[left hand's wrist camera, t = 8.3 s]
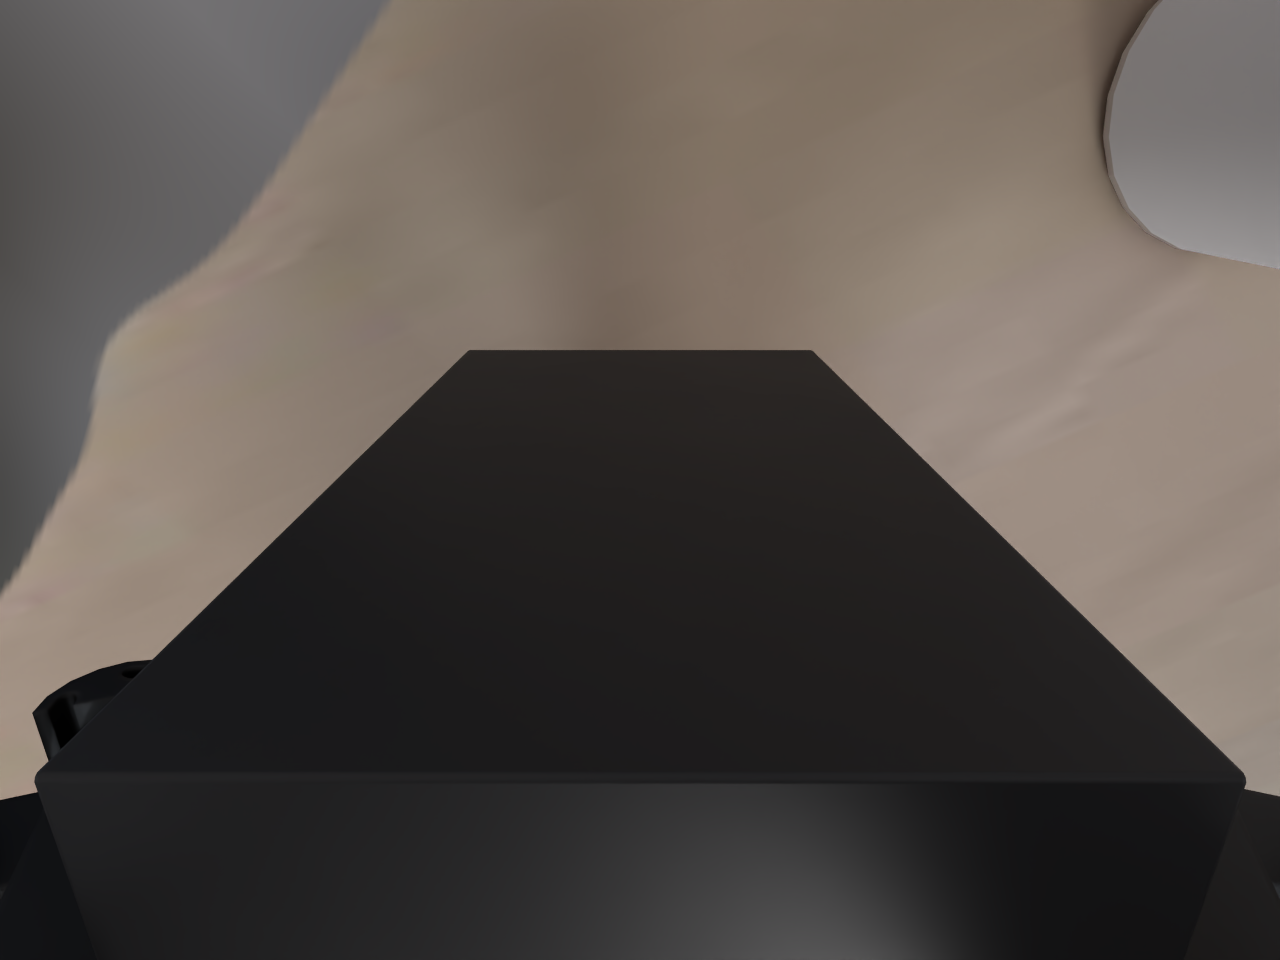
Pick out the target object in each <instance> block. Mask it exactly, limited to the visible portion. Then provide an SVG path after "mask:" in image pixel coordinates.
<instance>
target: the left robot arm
mask: <svg viewBox="0 0 1280 960" xmlns="http://www.w3.org/2000/svg"><path fill="white" fill-rule="evenodd" d="M151 661H152V660H144V661H132V662H125V663H121V664H117V665H114V666H110V667H106V668H102V669H98V670H96V671H94V672H91V673H89V674H87V675H84V676H82V677H79V678H77V679H75V680H72V681H70V682H69V683H67V684H66V685H64V686H63V687H61V688H59V689H58V690H56V691H55V692H53V693H52V694H50V695H49V696H47V697H46V698H45V699H44V700H43V702H42V703H41V704H40V705H39V706H38V707H37V708H36V709H35V711H34V712H33V713H32V714H33V716H34V719H35V722H36V725H37V728H38V731H39V734H40V737H41V740H42V743H43V746H44V749H45V752H46V755H47V758H48V761H49V760H50V759H51V758H52V757H54V756H55V755H56V754H57V753H58V752H59V751H60V750H61V749H62V748H63V747H64V746H65V745H66V744H67V743H68V742H69V741H70V740H71V739H72V738H73V737H74V736H75V735H76V734H77V733H78V732H79V731H80V730H81V729H82V728H83V727H84V726H85V725H86V724H87V723H88V722H89V721H90V720H91V719H92V718H93V717H94V716H95V715H96V714H97V713H98V712H100V711H101V710H102V709H103V708H104V707H105V706H106V705H107V704H108V703H109V702H110V701H111V700H112V699H113V698H114V697H115V696H116V695H117V694H118V693H119V692H120V691H121V690H122V689H123V688H124V687H125V686H126V685H127V684H128V683H129V682H130V681H131V680H132V679H133V678H134V677H135V676H136V675H137V674H138V673H139V672H140V671H141V670H142V669H143V668H145V667H146V666H147V665H148V664H149V663H150V662H151ZM0 960H97V958H96V955H95V953H94V950H93V947H92V944H91V941H90V938H89V936H88V933H87V930H86V927H85V924H84V921H83V918H82V916H81V913H80V910H79V907H78V904H77V901H76V899H75V896H74V893H73V890H72V887H71V884H70V882H69V879H68V876H67V873H66V870H65V867H64V865H63V862H62V859H61V856H60V853H59V850H58V848H57V845H56V842H55V839H54V836H53V833H52V830H51V828H50V825H49V822H48V819H47V816H46V813H45V811H44V808H43V805H42V802H41V799H40V796H39V794H38V792H36V793H32V794H27V795H22V796H17V797H13V798H8V799H3V800H0ZM1184 960H1280V797H1279V796H1274V795H1270V794H1265V793H1260V792H1255V791H1251V790H1246V789H1244V790H1243V793H1242V796H1241V799H1240V802H1239V805H1238V807H1237V810H1236V813H1235V816H1234V819H1233V822H1232V824H1231V827H1230V830H1229V833H1228V836H1227V839H1226V841H1225V844H1224V847H1223V850H1222V853H1221V856H1220V858H1219V861H1218V864H1217V867H1216V870H1215V873H1214V875H1213V878H1212V881H1211V884H1210V887H1209V890H1208V892H1207V895H1206V898H1205V901H1204V904H1203V907H1202V909H1201V912H1200V915H1199V918H1198V921H1197V924H1196V926H1195V929H1194V932H1193V935H1192V938H1191V941H1190V943H1189V946H1188V949H1187V952H1186V955H1185V958H1184Z"/></svg>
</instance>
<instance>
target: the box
mask: <svg viewBox="0 0 1280 960" xmlns="http://www.w3.org/2000/svg"><path fill="white" fill-rule="evenodd" d="M35 785H36V788H37V791H38V794H39V796H40V799H41V802H42V805H43V808H44V811H45V813H46V816H47V819H48V822H49V825H50V828H51V830H52V833H53V836H54V839H55V842H56V845H57V848H58V850H59V853H60V856H61V859H62V862H63V865H64V867H65V870H66V873H67V876H68V879H69V882H70V884H71V887H72V890H73V893H74V896H75V899H76V901H77V904H78V907H79V910H80V913H81V916H82V918H83V921H84V924H85V927H86V930H87V933H88V936H89V938H90V941H91V944H92V947H93V950H94V953H95V955H96V958H97V960H1184V958H1185V955H1186V952H1187V949H1188V946H1189V943H1190V941H1191V938H1192V935H1193V932H1194V929H1195V926H1196V924H1197V921H1198V918H1199V915H1200V912H1201V909H1202V907H1203V904H1204V901H1205V898H1206V895H1207V892H1208V890H1209V887H1210V884H1211V881H1212V878H1213V875H1214V873H1215V870H1216V867H1217V864H1218V861H1219V858H1220V856H1221V853H1222V850H1223V847H1224V844H1225V841H1226V839H1227V836H1228V833H1229V830H1230V827H1231V824H1232V822H1233V819H1234V816H1235V813H1236V810H1237V807H1238V805H1239V802H1240V799H1241V796H1242V793H1243V790H1244V788H1245V785H1246V777H1245V775H1244V773H1243V772H1242V771H1241V770H1240V769H1239V768H1238V767H1237V766H1236V765H1235V764H1234V763H1233V762H1232V761H1231V760H1230V759H1229V758H1228V757H1227V756H1226V755H1225V754H1224V753H1223V752H1222V751H1221V750H1220V749H1218V748H1217V747H1216V746H1215V745H1214V744H1213V743H1212V742H1211V741H1210V740H1209V739H1208V738H1207V737H1206V736H1205V735H1204V734H1203V733H1202V732H1201V731H1200V730H1199V729H1198V728H1197V727H1196V726H1195V725H1194V724H1193V723H1192V722H1191V721H1190V720H1189V719H1188V718H1187V717H1186V716H1185V715H1184V714H1183V713H1182V712H1181V711H1180V710H1179V709H1178V708H1177V707H1176V706H1175V705H1174V704H1173V703H1172V702H1171V701H1169V700H1168V699H1167V698H1166V697H1165V696H1164V695H1163V694H1162V693H1161V692H1160V691H1159V690H1158V689H1157V688H1156V687H1155V686H1154V685H1153V684H1152V683H1151V682H1150V681H1149V680H1148V679H1147V678H1146V677H1145V676H1144V675H1143V674H1142V673H1141V672H1140V671H1139V670H1138V669H1137V668H1136V667H1135V666H1134V665H1133V664H1132V663H1131V662H1130V661H1129V660H1128V659H1127V658H1126V657H1125V656H1124V655H1123V654H1121V653H1120V652H1119V651H1118V650H1117V649H1116V648H1115V647H1114V646H1113V645H1112V644H1111V643H1110V642H1109V641H1108V640H1107V639H1106V638H1105V637H1104V636H1103V635H1102V634H1101V633H1100V632H1099V631H1098V630H1097V629H1096V628H1095V627H1094V626H1093V625H1092V624H1091V623H1090V622H1089V621H1088V620H1087V619H1086V618H1085V617H1084V616H1083V615H1082V614H1081V613H1080V612H1079V611H1078V610H1077V609H1076V608H1075V607H1074V606H1072V605H1071V604H1070V603H1069V602H1068V601H1067V600H1066V599H1065V598H1064V597H1063V596H1062V595H1061V594H1060V593H1059V592H1058V591H1057V590H1056V589H1055V588H1054V587H1053V586H1052V585H1051V584H1050V583H1049V582H1048V581H1047V580H1046V579H1045V578H1044V577H1043V576H1042V575H1041V574H1040V573H1039V572H1038V571H1037V570H1036V569H1035V568H1034V567H1033V566H1032V565H1031V564H1030V563H1029V562H1028V561H1027V560H1026V559H1024V558H1023V557H1022V556H1021V555H1020V554H1019V553H1018V552H1017V551H1016V550H1015V549H1014V548H1013V547H1012V546H1011V545H1010V544H1009V543H1008V542H1007V541H1006V540H1005V539H1004V538H1003V537H1002V536H1001V535H1000V534H999V533H998V532H997V531H996V530H995V529H994V528H993V527H992V526H991V525H990V524H989V523H988V522H987V521H986V520H985V519H984V518H983V517H982V516H981V515H980V514H979V513H978V512H977V511H975V510H974V509H973V508H972V507H971V506H970V505H969V504H968V503H967V502H966V501H965V500H964V499H963V498H962V497H961V496H960V495H959V494H958V493H957V492H956V491H955V490H954V489H953V488H952V487H951V486H950V485H949V484H948V483H947V482H946V481H945V480H944V479H943V478H942V477H941V476H940V475H939V474H938V473H937V472H936V471H935V470H934V469H933V468H932V467H931V466H930V465H929V464H928V463H926V462H925V461H924V460H923V459H922V458H921V457H920V456H919V455H918V454H917V453H916V452H915V451H914V450H913V449H912V448H911V447H910V446H909V445H908V444H907V443H906V442H905V441H904V440H903V439H902V438H901V437H900V436H899V435H898V434H897V433H896V432H895V431H894V430H893V429H892V428H891V427H890V426H889V425H888V424H887V423H886V422H885V421H884V420H883V419H882V418H881V417H880V416H878V415H877V414H876V413H875V412H874V411H873V410H872V409H871V408H870V407H869V406H868V405H867V404H866V403H865V402H864V401H863V400H862V399H861V398H860V397H859V396H858V395H857V394H856V393H855V392H854V391H853V390H852V389H851V388H850V387H849V386H848V385H847V384H846V383H845V382H844V381H843V380H842V379H841V378H840V377H839V376H838V375H837V374H836V373H835V372H834V371H833V370H832V369H831V368H829V367H828V366H827V365H826V364H825V363H824V362H823V361H822V360H821V359H820V358H819V357H818V356H817V355H816V354H815V353H814V352H813V351H811V350H469V351H468V352H467V353H466V354H465V355H464V356H462V357H461V358H460V359H459V360H458V361H457V362H456V363H455V364H454V365H453V366H452V367H451V368H450V369H449V370H448V371H447V372H446V373H445V374H444V375H443V376H442V377H441V378H440V379H439V380H438V381H437V382H436V383H435V384H434V385H433V386H432V387H431V388H430V389H429V390H428V391H427V392H426V393H425V394H424V395H423V396H422V397H421V398H420V399H419V400H417V401H416V402H415V403H414V404H413V405H412V406H411V407H410V408H409V409H408V410H407V411H406V412H405V413H404V414H403V415H402V416H401V417H400V418H399V419H398V420H397V421H396V422H395V423H394V424H393V425H392V426H391V427H390V428H389V429H388V430H387V431H386V432H385V433H384V434H383V435H382V436H381V437H380V438H379V439H378V440H377V441H376V442H375V443H374V444H373V445H371V446H370V447H369V448H368V449H367V450H366V451H365V452H364V453H363V454H362V455H361V456H360V457H359V458H358V459H357V460H356V461H355V462H354V463H353V464H352V465H351V466H350V467H349V468H348V469H347V470H346V471H345V472H344V473H343V474H342V475H341V476H340V477H339V478H338V479H337V480H336V481H335V482H334V483H333V484H332V485H331V486H330V487H329V488H328V489H327V490H325V491H324V492H323V493H322V494H321V495H320V496H319V497H318V498H317V499H316V500H315V501H314V502H313V503H312V504H311V505H310V506H309V507H308V508H307V509H306V510H305V511H304V512H303V513H302V514H301V515H300V516H299V517H298V518H297V519H296V520H295V521H294V522H293V523H292V524H291V525H290V526H289V527H288V528H287V529H286V530H285V531H284V532H283V533H282V534H280V535H279V536H278V537H277V538H276V539H275V540H274V541H273V542H272V543H271V544H270V545H269V546H268V547H267V548H266V549H265V550H264V551H263V552H262V553H261V554H260V555H259V556H258V557H257V558H256V559H255V560H254V561H253V562H252V563H251V564H250V565H249V566H248V567H247V568H246V569H245V570H244V571H243V572H242V573H241V574H240V575H239V576H238V577H237V578H236V579H234V580H233V581H232V582H231V583H230V584H229V585H228V586H227V587H226V588H225V589H224V590H223V591H222V592H221V593H220V594H219V595H218V596H217V597H216V598H215V599H214V600H213V601H212V602H211V603H210V604H209V605H208V606H207V607H206V608H205V609H204V610H203V611H202V612H201V613H200V614H199V615H198V616H197V617H196V618H195V619H194V620H193V621H192V622H191V623H189V624H188V625H187V626H186V627H185V628H184V629H183V630H182V631H181V632H180V633H179V634H178V635H177V636H176V637H175V638H174V639H173V640H172V641H171V642H170V643H169V644H168V645H167V646H166V647H165V648H164V649H163V650H162V651H161V652H160V653H159V654H158V655H157V656H156V657H155V658H154V659H153V660H152V661H151V662H150V663H149V664H148V665H147V666H146V667H145V668H143V669H142V670H141V671H140V672H139V673H138V674H137V675H136V676H135V677H134V678H133V679H132V680H131V681H130V682H129V683H128V684H127V685H126V686H125V687H124V688H123V689H122V690H121V691H120V692H119V693H118V694H117V695H116V696H115V697H114V698H113V699H112V700H111V701H110V702H109V703H108V704H107V705H106V706H105V707H104V708H103V709H102V710H101V711H100V712H98V713H97V714H96V715H95V716H94V717H93V718H92V719H91V720H90V721H89V722H88V723H87V724H86V725H85V726H84V727H83V728H82V729H81V730H80V731H79V732H78V733H77V734H76V735H75V736H74V737H73V738H72V739H71V740H70V741H69V742H68V743H67V744H66V745H65V746H64V747H63V748H62V749H61V750H60V751H59V752H58V753H57V754H56V755H55V756H54V757H52V758H51V759H50V760H49V761H48V762H47V763H46V764H45V765H44V766H43V767H42V768H41V769H40V770H39V771H38V772H37V774H36V776H35Z"/></svg>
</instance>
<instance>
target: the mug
mask: <svg viewBox="0 0 1280 960" xmlns="http://www.w3.org/2000/svg"><path fill="white" fill-rule="evenodd" d="M1103 141H1104V148H1105V155H1106V162H1107V169H1108V176H1109V178H1110V180H1111V182H1112V185H1113V187H1114V189H1115V191H1116V194H1117V196H1118V198H1119V200H1120V202H1121V205H1122V207H1123V208H1124V209H1125V211H1126V212H1127V213H1128V214H1129V215H1130V216H1131V217H1132V218H1133V219H1134V220H1135V221H1136V222H1137V224H1138V225H1139V226H1140V227H1141V228H1142V229H1143V230H1144V231H1145V232H1146V233H1148V234H1149V235H1151V236H1153V237H1155V238H1157V239H1159V240H1161V241H1162V242H1164V243H1166V244H1168V245H1170V246H1172V247H1173V248H1176V249H1181V250H1187V251H1192V252H1197V253H1202V254H1207V255H1212V256H1217V257H1222V258H1227V259H1232V260H1237V261H1242V262H1247V263H1252V264H1257V265H1261V266H1266V267H1271V268H1276V269H1280V0H1158V1H1157V2H1156V3H1155V4H1154V5H1153V7H1152V8H1151V9H1150V10H1149V11H1148V12H1147V14H1146V15H1145V17H1144V19H1143V20H1142V22H1141V23H1140V25H1139V27H1138V28H1137V30H1136V32H1135V33H1134V35H1133V37H1132V38H1131V40H1130V42H1129V43H1128V45H1127V47H1126V48H1125V50H1124V52H1123V54H1122V56H1121V59H1120V62H1119V65H1118V68H1117V71H1116V74H1115V76H1114V79H1113V82H1112V85H1111V88H1110V91H1109V94H1108V97H1107V106H1106V114H1105V123H1104V132H1103Z"/></svg>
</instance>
